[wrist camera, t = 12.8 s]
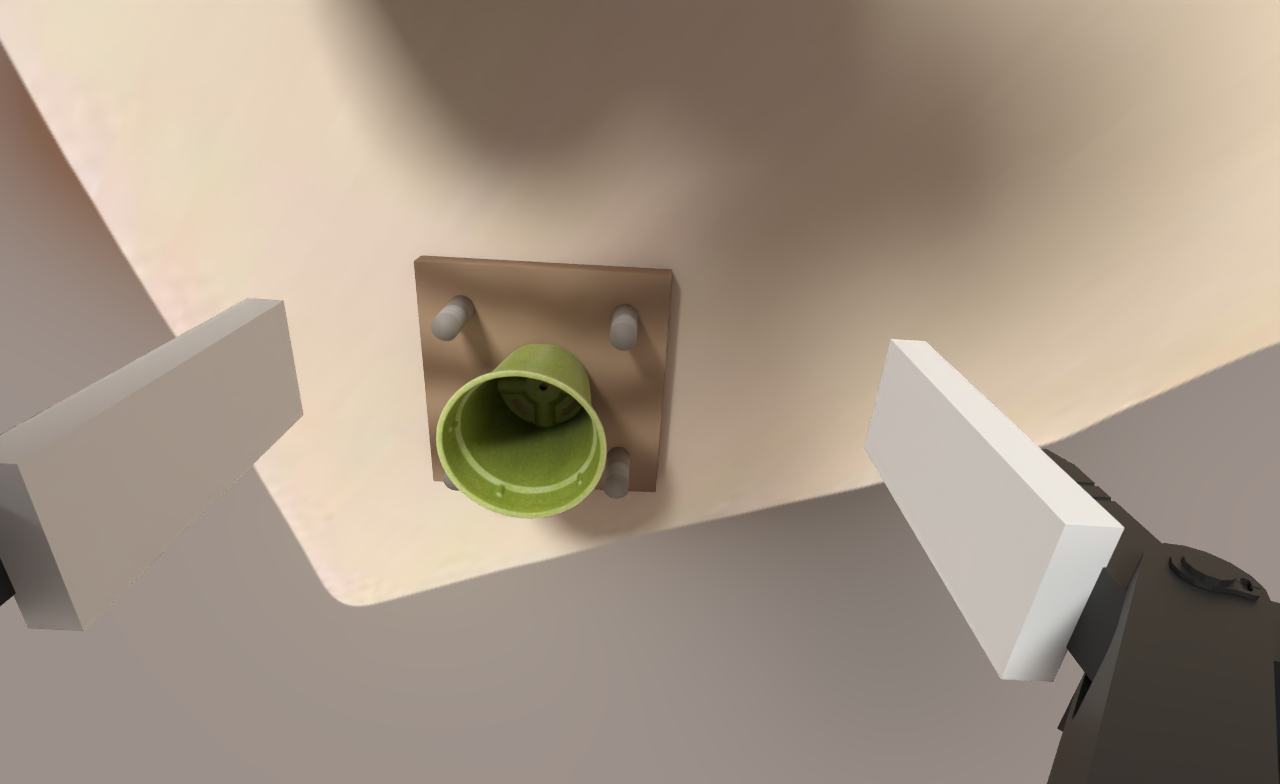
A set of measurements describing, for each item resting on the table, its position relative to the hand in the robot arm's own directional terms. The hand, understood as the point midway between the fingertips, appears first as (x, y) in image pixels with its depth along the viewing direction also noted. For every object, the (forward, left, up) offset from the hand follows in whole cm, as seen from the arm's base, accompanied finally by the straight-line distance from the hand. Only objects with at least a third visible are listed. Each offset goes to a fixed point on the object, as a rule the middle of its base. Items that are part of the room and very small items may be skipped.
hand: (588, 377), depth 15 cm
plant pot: (+13, -5, -27) cm, 30 cm away
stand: (+13, -5, -29) cm, 32 cm away
